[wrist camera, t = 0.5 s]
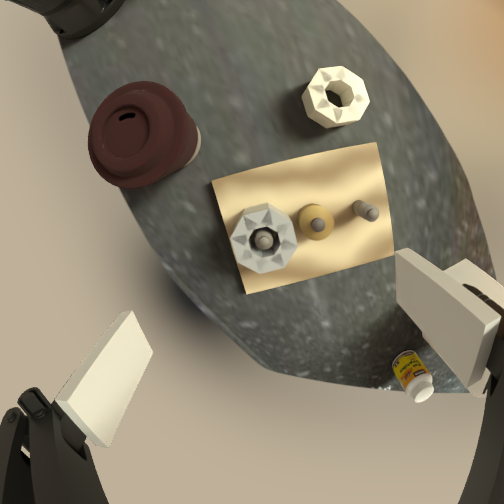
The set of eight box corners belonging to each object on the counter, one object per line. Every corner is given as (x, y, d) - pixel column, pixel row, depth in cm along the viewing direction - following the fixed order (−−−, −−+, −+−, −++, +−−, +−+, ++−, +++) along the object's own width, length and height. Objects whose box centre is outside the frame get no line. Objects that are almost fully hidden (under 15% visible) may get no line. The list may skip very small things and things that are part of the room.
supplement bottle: (412, 343, 43) (437, 378, 33) (417, 360, 44) (438, 394, 34) (388, 358, 44) (408, 395, 34) (393, 374, 45) (412, 410, 35)
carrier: (213, 180, 35) (203, 183, 28) (371, 142, 32) (393, 139, 26) (247, 289, 39) (245, 313, 33) (389, 251, 37) (410, 267, 31)
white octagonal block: (296, 82, 30) (302, 71, 25) (345, 76, 30) (357, 64, 25) (311, 131, 32) (320, 126, 28) (359, 122, 32) (374, 117, 27)
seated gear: (229, 212, 34) (224, 220, 30) (283, 198, 34) (287, 203, 29) (244, 263, 36) (242, 278, 32) (296, 249, 36) (301, 263, 31)
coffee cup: (188, 191, 35) (145, 211, 21) (130, 160, 34) (63, 163, 19) (225, 126, 32) (203, 100, 18) (163, 96, 31) (110, 63, 17)
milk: (466, 310, 41) (543, 388, 16) (422, 336, 42) (492, 434, 17) (465, 258, 37) (567, 329, 12) (418, 284, 39) (517, 384, 14)
